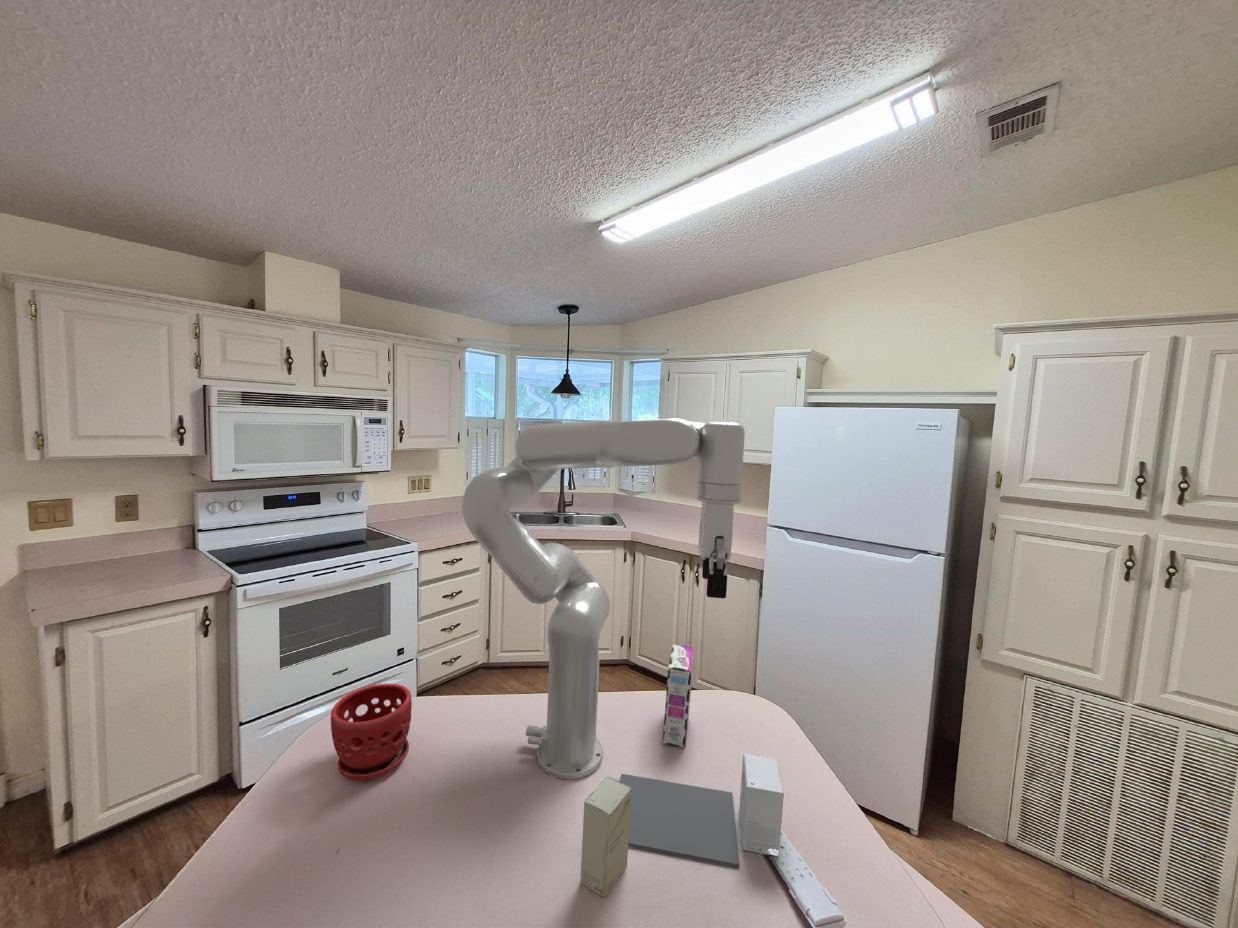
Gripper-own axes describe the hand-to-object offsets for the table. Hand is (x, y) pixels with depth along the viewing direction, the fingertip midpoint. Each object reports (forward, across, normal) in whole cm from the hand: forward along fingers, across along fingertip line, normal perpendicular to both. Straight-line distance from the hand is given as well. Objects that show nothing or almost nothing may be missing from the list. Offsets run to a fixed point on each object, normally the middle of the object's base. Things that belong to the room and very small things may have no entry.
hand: (713, 587), depth 84 cm
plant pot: (+36, +6, -61) cm, 71 cm away
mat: (+36, +9, -5) cm, 38 cm away
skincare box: (+36, +21, -16) cm, 45 cm away
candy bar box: (+37, -14, -4) cm, 39 cm away
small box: (+37, +10, +8) cm, 39 cm away
